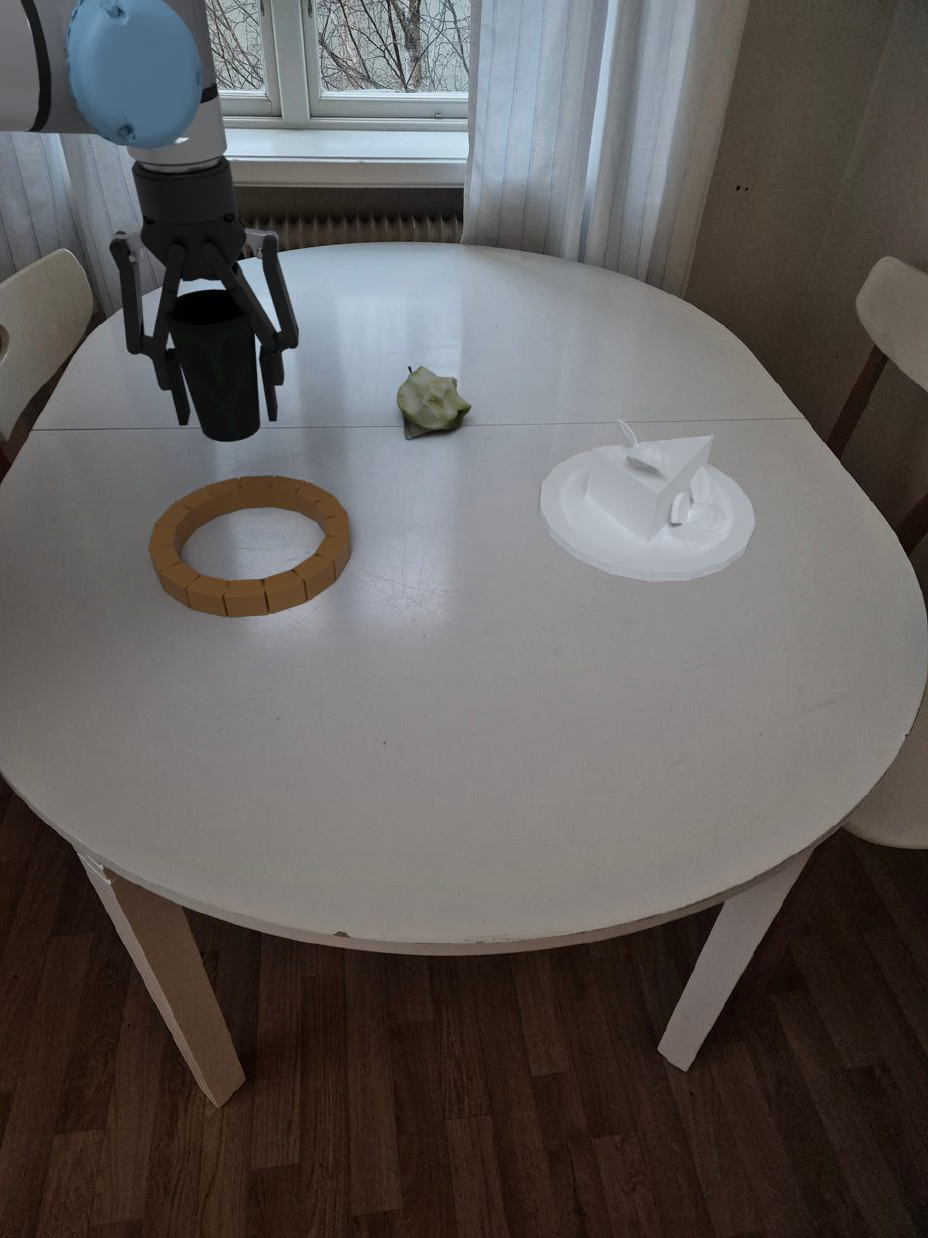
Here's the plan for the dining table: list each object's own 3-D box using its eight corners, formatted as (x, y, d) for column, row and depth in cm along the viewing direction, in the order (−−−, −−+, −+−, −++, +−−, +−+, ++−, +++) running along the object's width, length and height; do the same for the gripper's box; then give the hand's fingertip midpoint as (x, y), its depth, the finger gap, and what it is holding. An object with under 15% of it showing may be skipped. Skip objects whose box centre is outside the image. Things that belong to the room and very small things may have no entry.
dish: (636, 612, 89) (656, 525, 81) (497, 492, 104) (502, 408, 96) (797, 533, 99) (828, 449, 91) (649, 434, 114) (665, 354, 106)
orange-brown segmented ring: (142, 623, 86) (135, 602, 84) (169, 499, 101) (163, 480, 99) (352, 609, 88) (350, 589, 86) (348, 490, 103) (346, 471, 101)
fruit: (391, 420, 118) (393, 361, 113) (458, 420, 119) (462, 362, 115) (401, 444, 110) (403, 382, 106) (472, 444, 112) (477, 383, 108)
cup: (287, 420, 85) (270, 301, 77) (235, 456, 80) (211, 334, 72) (228, 398, 88) (205, 281, 79) (174, 433, 83) (144, 312, 74)
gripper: (31, 175, 64) (112, 442, 79) (311, 170, 66) (336, 432, 81) (54, 145, 69) (126, 400, 85) (312, 141, 71) (336, 392, 87)
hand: (229, 415), depth 83 cm, fingers closed on cup, 8 cm apart
